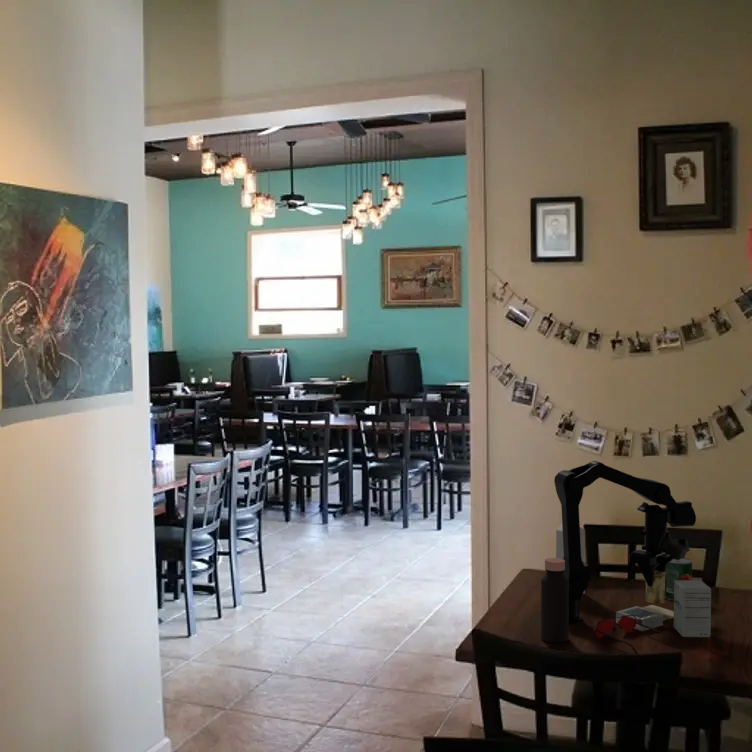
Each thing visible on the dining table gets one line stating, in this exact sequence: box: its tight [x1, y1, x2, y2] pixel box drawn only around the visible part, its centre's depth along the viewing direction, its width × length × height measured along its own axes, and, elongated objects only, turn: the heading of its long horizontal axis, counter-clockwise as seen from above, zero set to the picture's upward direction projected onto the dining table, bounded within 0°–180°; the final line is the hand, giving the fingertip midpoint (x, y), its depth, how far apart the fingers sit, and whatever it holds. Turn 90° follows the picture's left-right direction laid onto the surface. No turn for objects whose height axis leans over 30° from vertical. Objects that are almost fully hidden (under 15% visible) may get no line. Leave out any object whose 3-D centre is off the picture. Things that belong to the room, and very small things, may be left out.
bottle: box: [540, 557, 570, 644], centre depth 226 cm, size 7×7×20 cm
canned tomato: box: [665, 557, 693, 602], centre depth 261 cm, size 8×8×11 cm
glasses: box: [593, 615, 683, 655], centre depth 223 cm, size 14×16×5 cm
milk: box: [555, 523, 586, 595], centre depth 265 cm, size 6×6×22 cm
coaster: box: [641, 604, 674, 622], centre depth 246 cm, size 10×10×1 cm
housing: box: [615, 605, 664, 632], centre depth 237 cm, size 8×8×3 cm
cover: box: [645, 569, 666, 605], centre depth 246 cm, size 5×5×8 cm
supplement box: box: [673, 579, 712, 638], centre depth 230 cm, size 7×7×13 cm
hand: (655, 584), depth 246 cm, fingers closed on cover, 5 cm apart
